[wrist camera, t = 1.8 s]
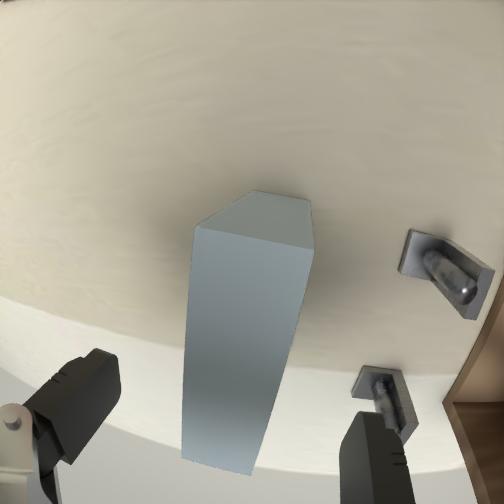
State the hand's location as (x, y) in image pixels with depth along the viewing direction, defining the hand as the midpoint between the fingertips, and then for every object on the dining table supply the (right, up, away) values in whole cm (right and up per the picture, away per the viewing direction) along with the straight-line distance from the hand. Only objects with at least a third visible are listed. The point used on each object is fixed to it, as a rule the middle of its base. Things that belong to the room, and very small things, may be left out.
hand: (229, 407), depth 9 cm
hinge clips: (+11, 0, +8) cm, 13 cm away
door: (+2, +3, +9) cm, 9 cm away
